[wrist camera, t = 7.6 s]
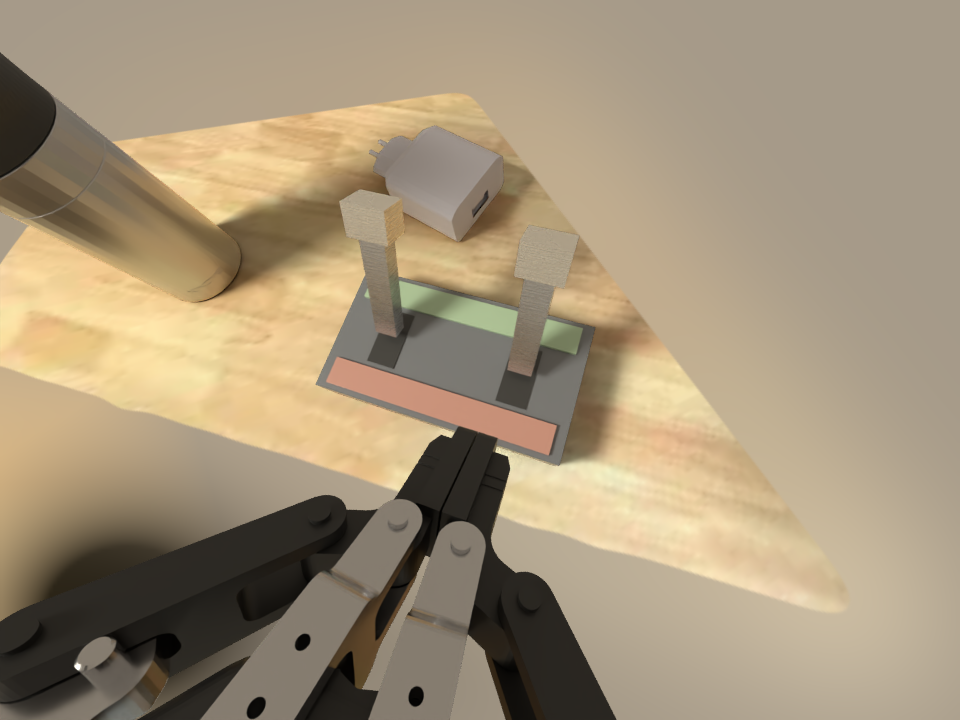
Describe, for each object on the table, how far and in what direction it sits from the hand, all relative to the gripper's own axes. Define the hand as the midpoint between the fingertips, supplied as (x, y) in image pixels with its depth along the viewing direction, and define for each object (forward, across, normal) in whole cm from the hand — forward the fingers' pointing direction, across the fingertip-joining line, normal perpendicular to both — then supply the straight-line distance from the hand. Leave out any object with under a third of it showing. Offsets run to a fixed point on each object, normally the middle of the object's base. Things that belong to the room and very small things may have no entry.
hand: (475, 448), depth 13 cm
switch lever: (+16, 0, +6) cm, 17 cm away
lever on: (+16, +12, +6) cm, 21 cm away
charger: (+33, +17, -5) cm, 37 cm away
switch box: (+19, +6, +9) cm, 22 cm away
